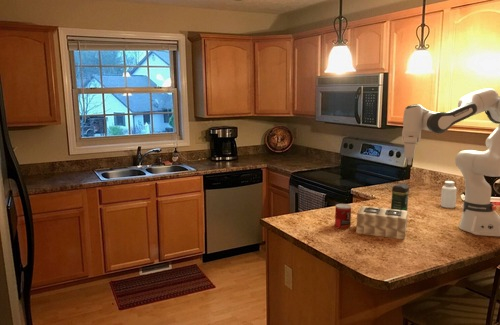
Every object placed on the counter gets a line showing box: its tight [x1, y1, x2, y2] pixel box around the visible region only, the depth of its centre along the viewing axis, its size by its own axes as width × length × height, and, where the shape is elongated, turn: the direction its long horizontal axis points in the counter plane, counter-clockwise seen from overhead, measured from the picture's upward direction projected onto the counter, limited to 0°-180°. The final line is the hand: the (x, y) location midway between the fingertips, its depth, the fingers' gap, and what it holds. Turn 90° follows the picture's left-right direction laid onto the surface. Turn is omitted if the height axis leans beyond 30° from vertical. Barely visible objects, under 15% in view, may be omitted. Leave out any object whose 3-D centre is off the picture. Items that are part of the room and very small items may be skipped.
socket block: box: [355, 205, 409, 240], centre depth 201 cm, size 22×14×10 cm, turn 66°
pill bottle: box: [440, 180, 458, 209], centre depth 243 cm, size 8×8×15 cm
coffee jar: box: [390, 182, 410, 211], centre depth 222 cm, size 10×8×19 cm
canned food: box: [334, 203, 352, 230], centre depth 208 cm, size 8×8×11 cm
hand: (409, 164), depth 208 cm, fingers closed
